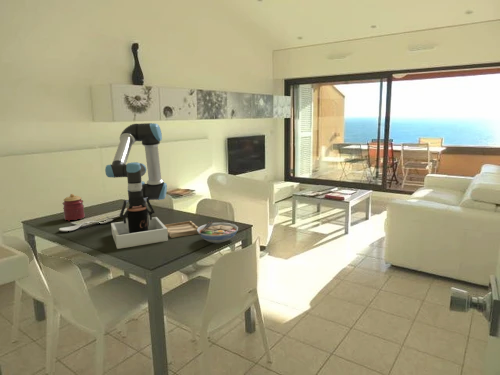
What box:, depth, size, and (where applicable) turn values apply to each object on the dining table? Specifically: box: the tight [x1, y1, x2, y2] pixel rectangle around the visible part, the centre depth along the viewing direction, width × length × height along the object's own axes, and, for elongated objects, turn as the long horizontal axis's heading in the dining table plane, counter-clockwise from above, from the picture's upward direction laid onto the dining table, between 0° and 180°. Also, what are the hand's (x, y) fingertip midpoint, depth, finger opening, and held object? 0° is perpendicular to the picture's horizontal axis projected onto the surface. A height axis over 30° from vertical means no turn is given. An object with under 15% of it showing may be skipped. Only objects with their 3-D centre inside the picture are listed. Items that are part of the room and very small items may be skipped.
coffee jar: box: [126, 205, 149, 234], centre depth 209 cm, size 11×11×18 cm
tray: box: [164, 220, 199, 239], centre depth 221 cm, size 20×18×2 cm
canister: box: [62, 193, 86, 222], centre depth 251 cm, size 13×13×18 cm
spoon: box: [58, 216, 114, 233], centre depth 233 cm, size 9×32×4 cm, turn 134°
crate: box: [110, 216, 169, 250], centre depth 210 cm, size 27×27×7 cm
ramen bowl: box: [197, 219, 239, 244], centre depth 201 cm, size 25×23×8 cm
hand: (138, 227), depth 209 cm, fingers open, 12 cm apart
